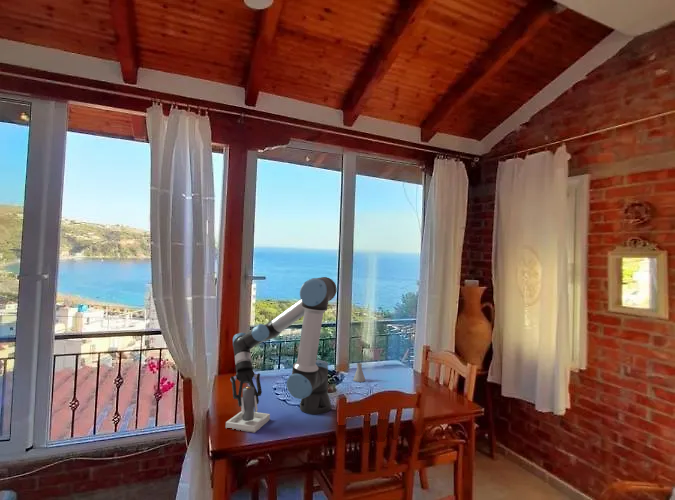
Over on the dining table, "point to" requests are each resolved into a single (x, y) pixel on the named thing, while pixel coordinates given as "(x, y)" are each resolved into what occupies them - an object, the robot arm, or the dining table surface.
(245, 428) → the tray
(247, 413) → the charcoal cell
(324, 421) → the dining table surface
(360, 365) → the flask
